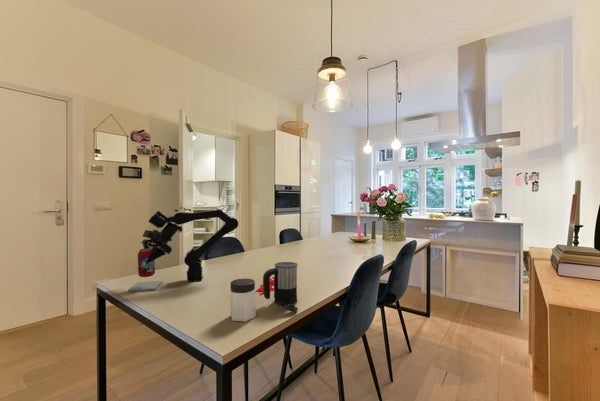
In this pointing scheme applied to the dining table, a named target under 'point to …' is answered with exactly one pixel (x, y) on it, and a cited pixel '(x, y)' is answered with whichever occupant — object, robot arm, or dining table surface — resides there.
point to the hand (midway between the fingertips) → (143, 261)
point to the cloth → (263, 288)
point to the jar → (242, 299)
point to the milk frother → (282, 284)
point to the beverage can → (145, 263)
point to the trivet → (145, 286)
